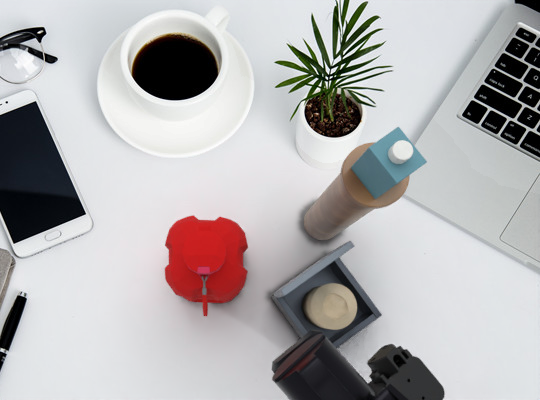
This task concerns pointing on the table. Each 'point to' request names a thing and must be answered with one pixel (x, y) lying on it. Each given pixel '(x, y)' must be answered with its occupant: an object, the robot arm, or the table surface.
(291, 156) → the table surface
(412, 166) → the teal milk carton
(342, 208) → the tall beige cylinder
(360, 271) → the table surface
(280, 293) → the lid
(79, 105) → the table surface
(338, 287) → the candle
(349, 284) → the open box
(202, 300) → the red rounded piece
